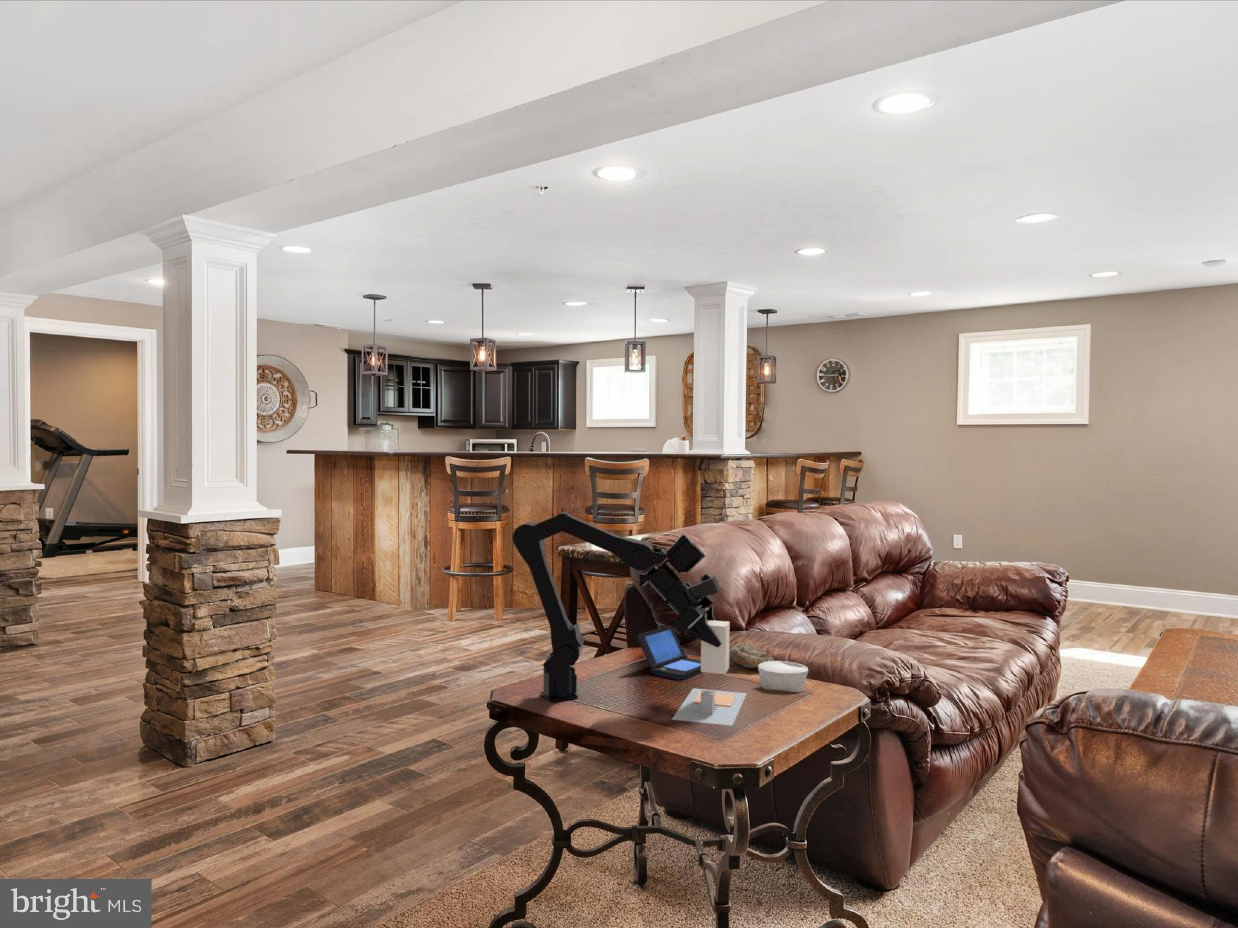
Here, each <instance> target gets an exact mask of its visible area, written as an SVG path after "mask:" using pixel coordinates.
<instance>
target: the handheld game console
mask: <svg viewBox="0 0 1238 928" xmlns="http://www.w3.org/2000/svg"><path fill="white" fill-rule="evenodd" d="M637 636H638V638H637V639H638V642H639V645H640V647H641V648H642V651H643V653H644V655H645V658H646V660H647V663H648V665H649V666H650V668H649V674H651V675H658V676H662V677H666V678H671V679H675V680H684V679H688V678H689V677H692V676H694V675H697V674H699V673H702V672H701V659H695V658H690V657H688V655H687V654H686V652H685V651H684V648H683V647H682V645H681V642H680V639H679V637H678V636H677V632H676V631H675V630H674V629H673V626H671V625H668V626H664V627H661V628H660V627H659V628H656V629H652V630H650V631H645V632H641V633H639V634H638V635H637Z"/></svg>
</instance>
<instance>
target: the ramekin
mask: <svg viewBox="0 0 1238 928" xmlns="http://www.w3.org/2000/svg"><path fill="white" fill-rule="evenodd" d="M757 670H758V674H759V680H760V685H761V688H763V690H769V691H771V690H772V691H779V692H780V691H782V692H793V693H802V692H803V691H804V689H805V686H806V682H807V678H808V677H807V676H808V674H809V669H808V666H805V665H804V664H801V663H798V662H794V661H793V662H792V661H786V660H785V661H784V660H774V661H767V662H763V663H760V664H759V665H758V668H757Z"/></svg>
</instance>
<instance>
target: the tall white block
mask: <svg viewBox="0 0 1238 928" xmlns="http://www.w3.org/2000/svg"><path fill="white" fill-rule="evenodd" d="M707 623H708V625H709V626H710V628H711V629H712V631H713V632H714V633H715V635H716V636H717V638H718V639H719V641H720V642H721V645H720V646H719V647H715V646H713V645H711V644H709V643H707V642H704V641H702V640H700V660H701V672H700V673H710V674H721V675H725V674H726V673H727V672H728V670H729V669H730V657H729V648H730V629H731V628H730V626H731V625H730V624H731V622H730V621H727V620H725V621H724V620H716V621H713V620H707Z"/></svg>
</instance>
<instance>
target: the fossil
mask: <svg viewBox="0 0 1238 928" xmlns="http://www.w3.org/2000/svg"><path fill="white" fill-rule="evenodd" d="M729 659H730V660H732V661H734V662H735V664H736V665H738V666H741V667H743V668H744V669H749V668H750V669H754V668H756V669H758V665H759V664H760V663H763V662H767V661H775V659H774V658H773V657H772V656H771V655H770V653H767V652H766V651H765V650H764V649H762V648H760V647H758V646H756V645H752V644H751V643H749V642H748V643H747V642H738V643H735V644H733V645H731V646H729Z"/></svg>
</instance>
